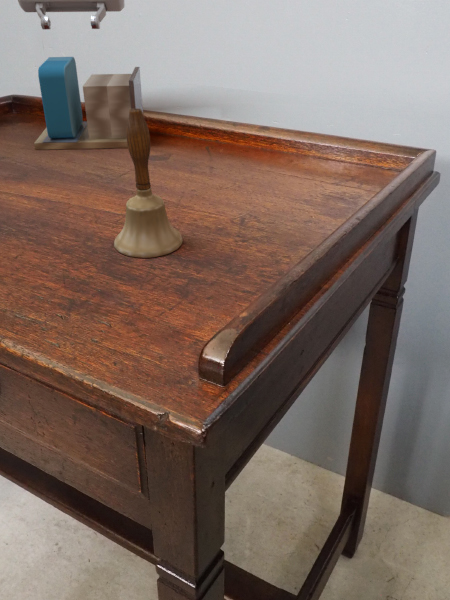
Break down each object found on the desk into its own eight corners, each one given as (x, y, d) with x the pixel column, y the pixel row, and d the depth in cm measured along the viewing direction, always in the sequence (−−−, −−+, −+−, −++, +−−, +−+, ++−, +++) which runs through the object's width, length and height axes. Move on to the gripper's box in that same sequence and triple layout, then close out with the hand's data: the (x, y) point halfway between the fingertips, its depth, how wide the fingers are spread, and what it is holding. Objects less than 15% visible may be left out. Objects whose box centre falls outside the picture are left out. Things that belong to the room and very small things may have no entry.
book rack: (35, 149, 107) (23, 83, 102) (50, 129, 118) (41, 67, 113) (138, 147, 108) (133, 81, 102) (144, 127, 119) (139, 66, 113)
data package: (59, 122, 117) (49, 55, 111) (83, 121, 118) (74, 55, 111) (48, 140, 107) (36, 68, 101) (74, 140, 107) (64, 67, 101)
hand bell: (152, 264, 70) (141, 123, 62) (99, 247, 74) (82, 112, 66) (196, 238, 76) (191, 106, 68) (145, 223, 80) (134, 96, 72)
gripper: (14, -46, 118) (10, 16, 115) (121, -47, 119) (120, 15, 115) (24, -21, 124) (20, 38, 121) (126, -22, 125) (125, 37, 121)
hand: (70, 27), depth 118 cm, fingers open, 8 cm apart
